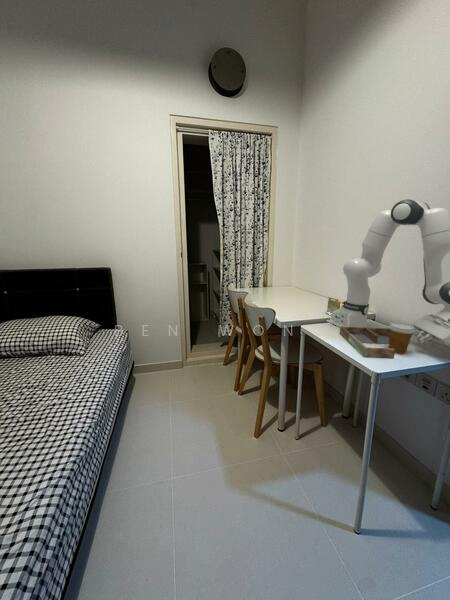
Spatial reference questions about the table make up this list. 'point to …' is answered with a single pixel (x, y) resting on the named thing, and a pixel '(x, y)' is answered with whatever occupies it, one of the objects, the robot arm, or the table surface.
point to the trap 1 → (363, 338)
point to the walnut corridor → (373, 336)
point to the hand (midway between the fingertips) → (418, 340)
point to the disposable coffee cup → (400, 336)
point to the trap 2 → (383, 339)
